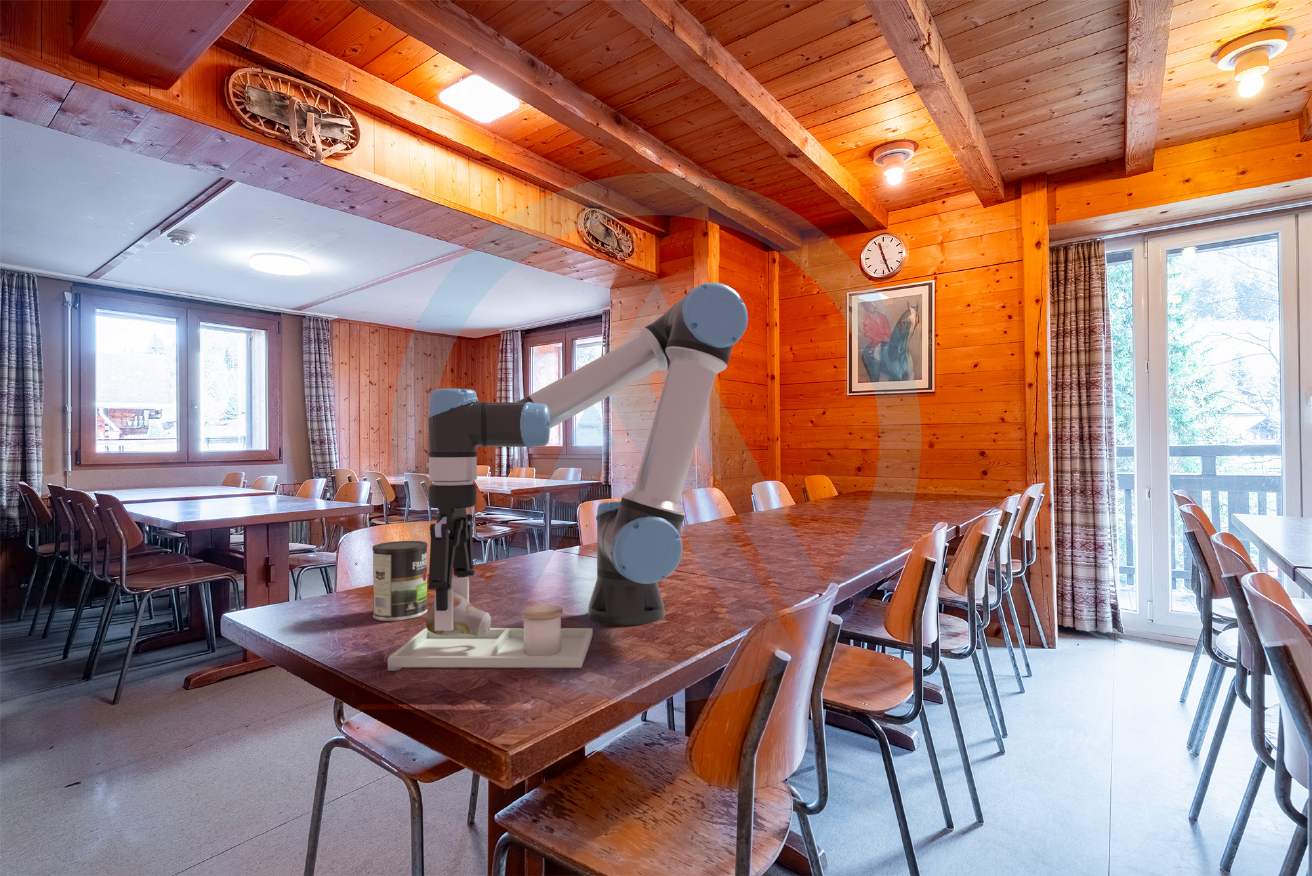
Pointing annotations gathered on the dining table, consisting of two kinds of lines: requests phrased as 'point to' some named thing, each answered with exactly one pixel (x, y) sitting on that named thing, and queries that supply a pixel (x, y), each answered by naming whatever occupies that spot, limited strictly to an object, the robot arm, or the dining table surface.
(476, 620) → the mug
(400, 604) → the coffee can
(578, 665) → the caddy
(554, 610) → the sugar pot
